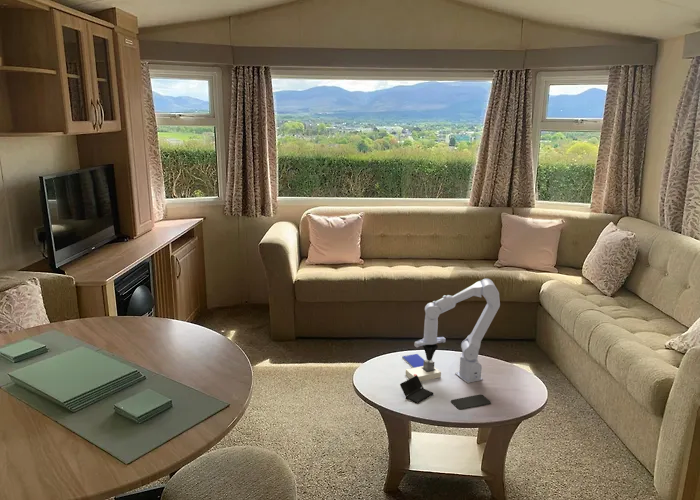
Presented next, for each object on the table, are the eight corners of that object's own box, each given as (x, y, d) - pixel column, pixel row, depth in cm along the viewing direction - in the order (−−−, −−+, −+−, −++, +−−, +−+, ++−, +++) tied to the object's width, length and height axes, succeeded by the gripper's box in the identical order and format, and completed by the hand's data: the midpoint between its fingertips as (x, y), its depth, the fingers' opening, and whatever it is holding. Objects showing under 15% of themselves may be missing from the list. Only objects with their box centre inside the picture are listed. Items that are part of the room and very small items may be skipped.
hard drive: (402, 356, 254) (414, 367, 242) (417, 353, 257) (430, 364, 245) (402, 359, 254) (414, 370, 243) (417, 356, 257) (430, 368, 246)
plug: (433, 374, 238) (434, 362, 236) (427, 376, 236) (427, 363, 235) (429, 371, 241) (430, 359, 239) (422, 372, 239) (423, 360, 238)
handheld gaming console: (422, 402, 212) (410, 378, 215) (408, 408, 216) (397, 384, 219) (435, 394, 222) (424, 371, 224) (422, 400, 226) (411, 377, 228)
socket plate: (440, 377, 236) (441, 371, 235) (414, 382, 231) (415, 376, 230) (430, 369, 243) (431, 363, 242) (405, 374, 238) (405, 368, 237)
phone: (449, 400, 216) (481, 393, 221) (449, 402, 217) (481, 395, 222) (459, 409, 210) (492, 402, 215) (459, 411, 210) (492, 404, 215)
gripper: (440, 324, 240) (438, 353, 243) (411, 329, 234) (410, 358, 237) (449, 330, 234) (447, 359, 237) (419, 335, 228) (418, 365, 231)
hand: (429, 359), depth 237 cm, fingers closed
